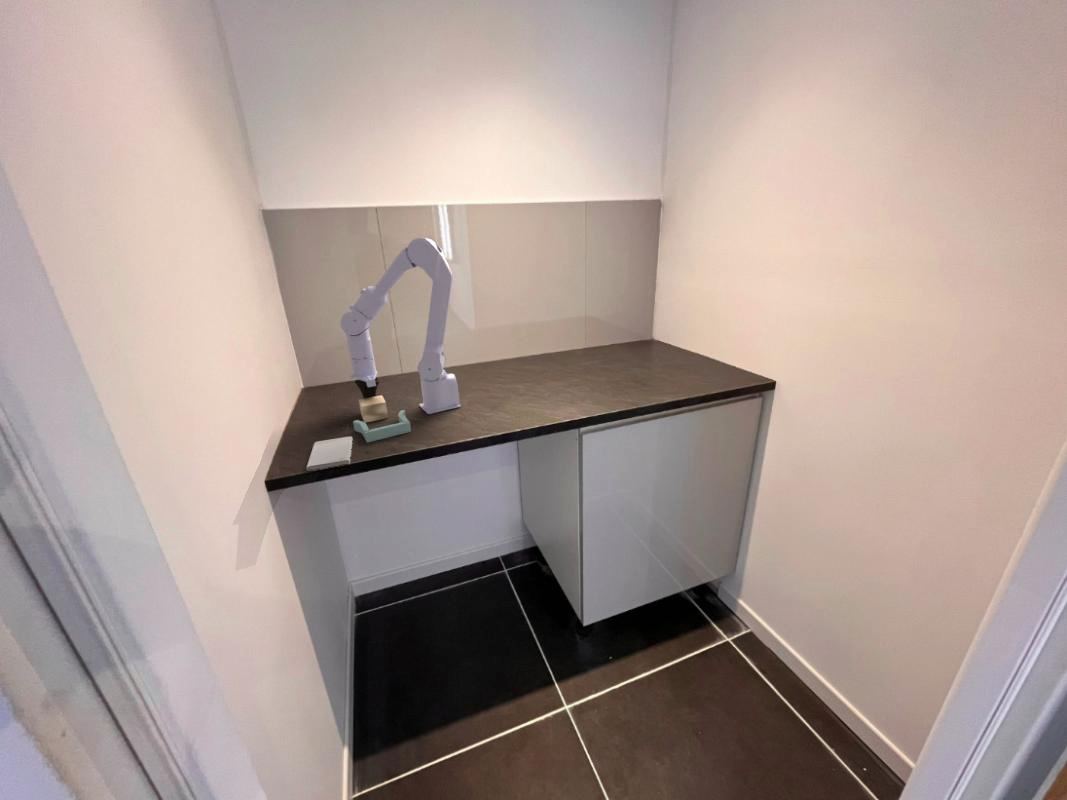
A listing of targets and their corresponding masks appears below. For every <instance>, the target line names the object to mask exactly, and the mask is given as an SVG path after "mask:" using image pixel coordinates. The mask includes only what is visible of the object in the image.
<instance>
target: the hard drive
mask: <svg viewBox="0 0 1067 800" xmlns="http://www.w3.org/2000/svg"><path fill="white" fill-rule="evenodd" d="M352 441H354V440H353V436H343V437H337V438H332V439H325V440H319V441H315V442H314V443H313V445H312V450H311V453H310V455H309V458H308V462H307V464H306V470H307V469H317V468H320V470H324V468H325V469H329V468H328V467H331V466H336V465H341V464H348V465H350V464H351V459H350V457H351V458H352V450H351V449H352V448H353V442H352ZM331 468H332V467H331Z"/></svg>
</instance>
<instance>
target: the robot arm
mask: <svg viewBox="0 0 1067 800" xmlns="http://www.w3.org/2000/svg"><path fill="white" fill-rule="evenodd" d="M416 267H418V268H420V269H422V270H423V271H424V273H426V274H427V276H428V277H429V278H430V279H431V281H432V286H431V294H430V302H429V303H430V304H429V309H428V310H429V312H428V319H427V320H428V321H427V326H426V335H425V343H424V346H423V352H422V357H421V359H420V361H418V364H417V372H418V374H419V379H420V387H421V395H422V401H423V402H422V403H419V404H418V406H419V407H420V408H421V409H422V410H423V411H424V412H425V413H426V414H427V415H432V414H435V413H439V412H445V411H447V410H448V411H449V410H451V409H457V408H461V407H462V406H461V404H460V394H459V385H458V384H459V383H458V381H457V378H456V376H455V374H454V373H447V371H446V370H445V369H444V367H445V365H446V360H447V359H446V355H445V352H444V351H445V338H446V337H445V336H446V331H447V321H448V315H449V309H450V308H449V307H450V299H451V292H452V285H453V276H454V275H453V272H452V270H451V267H450V266H449V263H448V261H447V258H446V257H445V254H444V252H443V249H442V248H441V247H440V246H439V245H438V244H437V243H436V241H435V240H434V239H431V238H429V237H417V238H414V239H412V240H411V241H410V242H409V243H408V246H405V248H403V249H402V250H401V251H400V253H399V254H398V255H397V256H396V257H395V259H393V261H392V263H391V264H390V265H389V267H388V268H387V270H386V271H385V272H384V274H383V275H382V277H381V278H380V279H379V281H378V282H377V283H376V285H375V286H374V285H370V286H367V288H362V289H361V290H360V291H359V294H360V296H359V297H358V298H357V300H356V302H355V303H353V304H352V303H351V304H350V305H349V307H348V308H349V310H350V311H347V312H344V313H343V314H342V317H340V328H341V329H342V330H343V332H345V336H346V341H347V346H348V353H349V357H350V363H351V366H352V373H350V374H348V377H349V379H356V380H354V383H355V385H356V386H357V387H358V389H359V391H360V392H361V395H362V399H364V398H369V397H375V396H377V389H378V385H379V384H380V383H379V382H380V381H379V379H378V370H377V368H376V361H375V356H374V351H373V350H374V349H373V345H372V344H373V343H372V338H371V334H370V328H371V327H370V326H371V324H372V321H373V320H374V319H375V318H376V317H377V316H378V314H379V313H381V310H383V308H384V307H385V306H386V304H388V293H389V292H390V291H391V290H392V289H393V288H394V286H395V285H396V284H397V283H398V281H399V280H400V279H401V278H402V277H403V276H404V275H405V273H406V272H407V271H409V270H411V269H414V268H416Z"/></svg>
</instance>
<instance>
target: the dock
mask: <svg viewBox="0 0 1067 800" xmlns="http://www.w3.org/2000/svg"><path fill="white" fill-rule="evenodd" d="M397 416H398V422H397V423H393V424H389V425H384V426H381V427H376V428H371V429H370V428H369V427H368V425H367V422H366V423H365V422H364V421H363V420H362V421H361V420H359V419H355V420H354V421H352V423H353V429H354V431H355V432H357V433H360V434H362V436H363V438H364V439H365V442H366V443H371V442H375V441H378V440H384V439H387V438H391V437H395V436H399V435H404V434H407V433H412V427H411V422H410V420H409V419H408V418H407V417H406V416H407V414H406V409H402V410H401V409H400V410H399V412H398V415H397Z"/></svg>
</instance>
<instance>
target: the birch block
mask: <svg viewBox="0 0 1067 800" xmlns="http://www.w3.org/2000/svg"><path fill="white" fill-rule="evenodd" d="M358 403H359V409H360V415H361V417H362V421H363V422H365V423H366V424H367V423H370V422H375V421H379V420H384V419H389V413H388V407H387V402H386V400H385V398H384V396H383V395H382V394H381V395H376V396H375V397H369V398H360V399H358Z"/></svg>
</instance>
